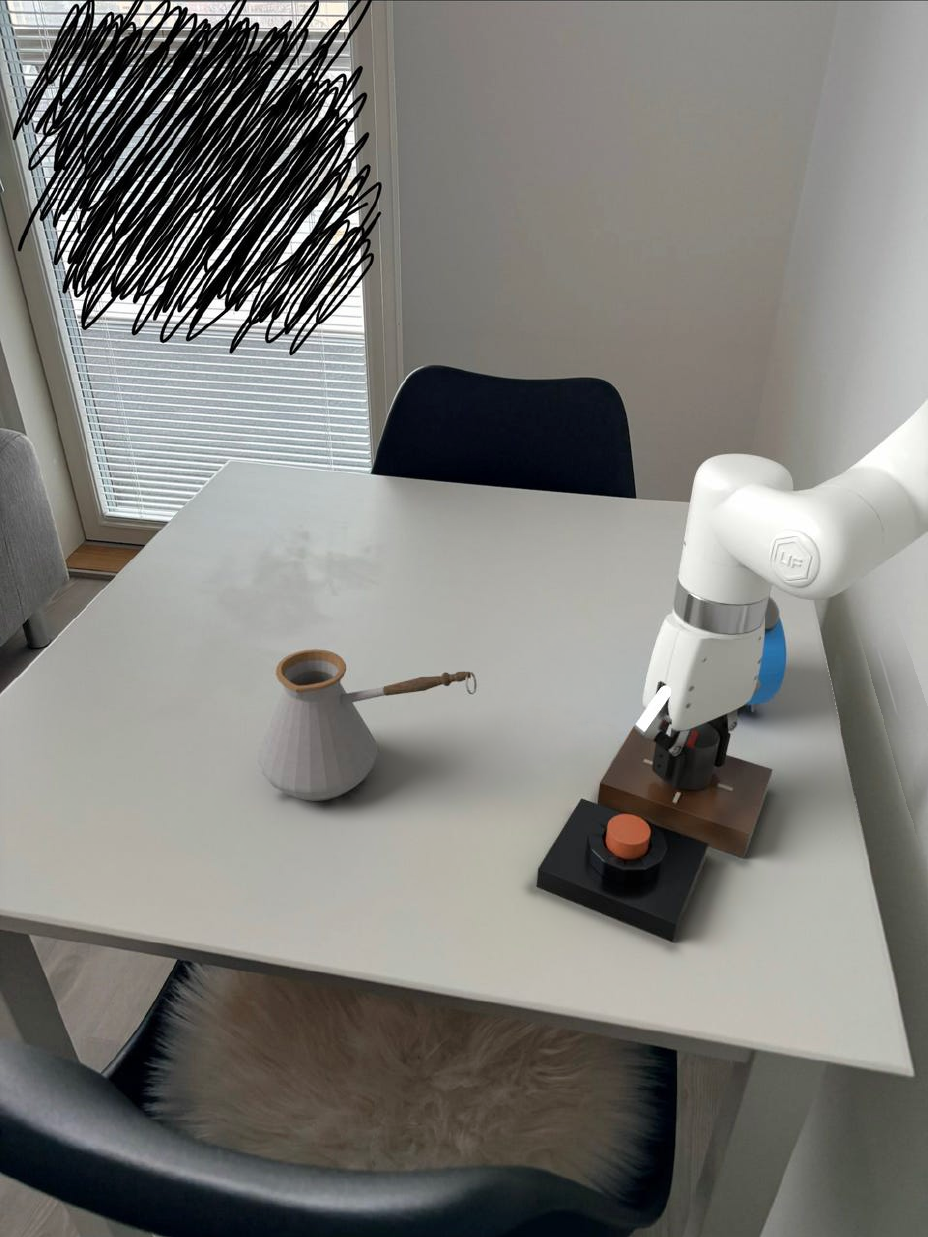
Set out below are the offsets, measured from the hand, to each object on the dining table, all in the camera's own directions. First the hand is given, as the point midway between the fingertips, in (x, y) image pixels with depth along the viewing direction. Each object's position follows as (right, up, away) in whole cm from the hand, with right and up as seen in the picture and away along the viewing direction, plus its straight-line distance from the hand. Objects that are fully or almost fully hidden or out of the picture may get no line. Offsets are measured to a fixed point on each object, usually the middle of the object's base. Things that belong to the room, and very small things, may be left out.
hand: (687, 767), depth 83 cm
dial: (0, -1, 0) cm, 1 cm away
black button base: (-7, -8, -6) cm, 13 cm away
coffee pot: (-31, -2, +3) cm, 31 cm away
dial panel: (0, -3, +2) cm, 4 cm away
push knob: (-7, -5, -8) cm, 12 cm away
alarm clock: (+8, +5, +17) cm, 19 cm away
